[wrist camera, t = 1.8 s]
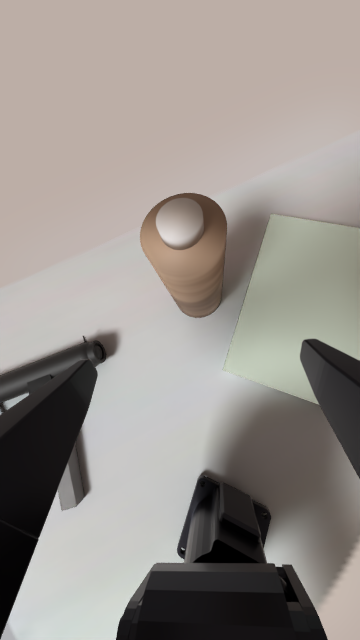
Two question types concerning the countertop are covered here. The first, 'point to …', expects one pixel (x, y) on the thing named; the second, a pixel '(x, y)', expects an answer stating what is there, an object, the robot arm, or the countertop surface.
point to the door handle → (35, 378)
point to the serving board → (297, 302)
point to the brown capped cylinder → (188, 250)
